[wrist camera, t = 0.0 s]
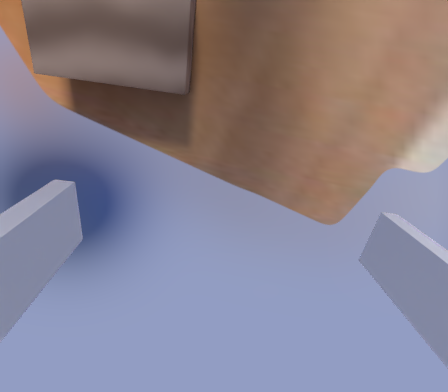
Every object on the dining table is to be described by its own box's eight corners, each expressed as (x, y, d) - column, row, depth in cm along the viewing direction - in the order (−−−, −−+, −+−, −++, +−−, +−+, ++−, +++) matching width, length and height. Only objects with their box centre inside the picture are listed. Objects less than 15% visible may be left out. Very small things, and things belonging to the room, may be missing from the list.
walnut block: (55, -33, 27) (9, -67, 21) (196, -7, 29) (192, -30, 23) (68, 74, 32) (34, 73, 26) (189, 92, 34) (184, 94, 27)
